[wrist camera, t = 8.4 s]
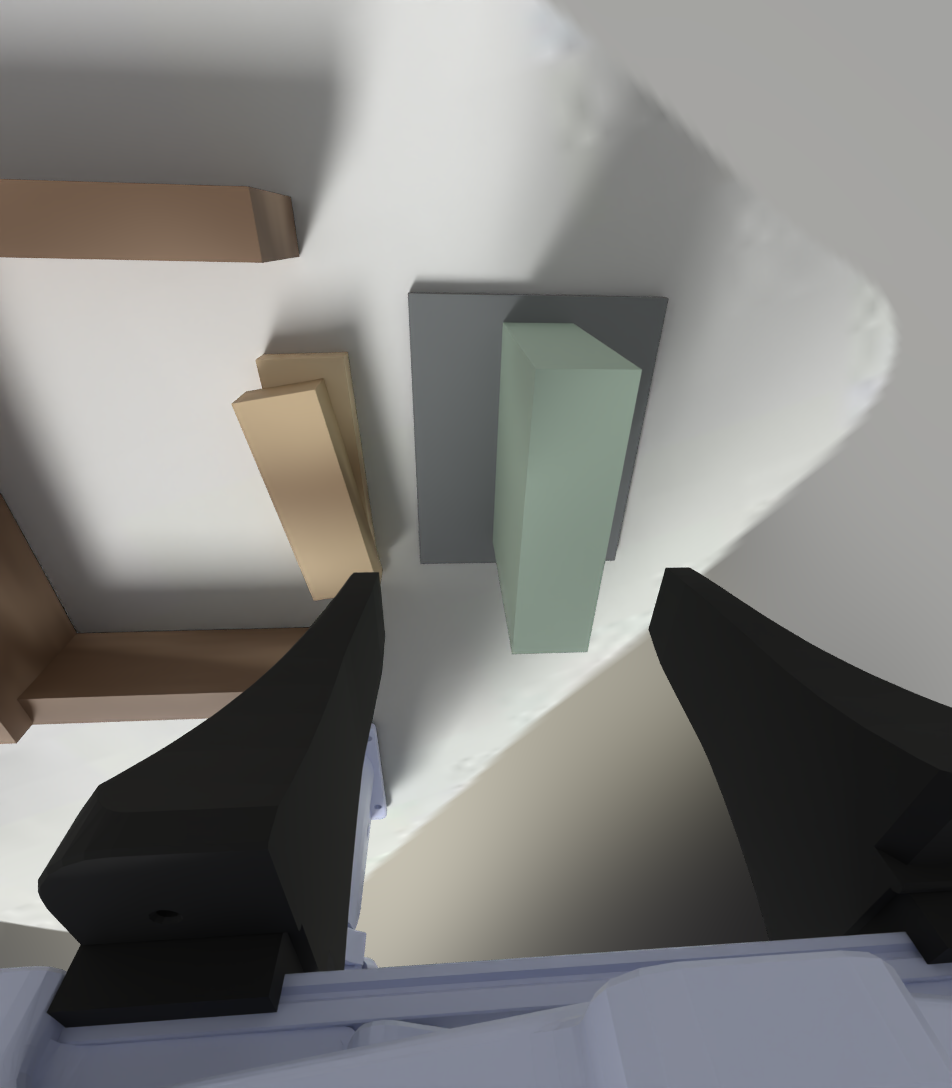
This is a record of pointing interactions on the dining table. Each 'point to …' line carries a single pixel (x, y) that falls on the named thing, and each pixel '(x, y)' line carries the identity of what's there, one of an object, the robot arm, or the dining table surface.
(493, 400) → the mat
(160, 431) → the dining table surface
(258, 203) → the frame
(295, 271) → the dining table surface
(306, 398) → the offcut upper
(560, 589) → the board
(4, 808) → the dining table surface
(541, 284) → the dining table surface
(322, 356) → the offcut lower
